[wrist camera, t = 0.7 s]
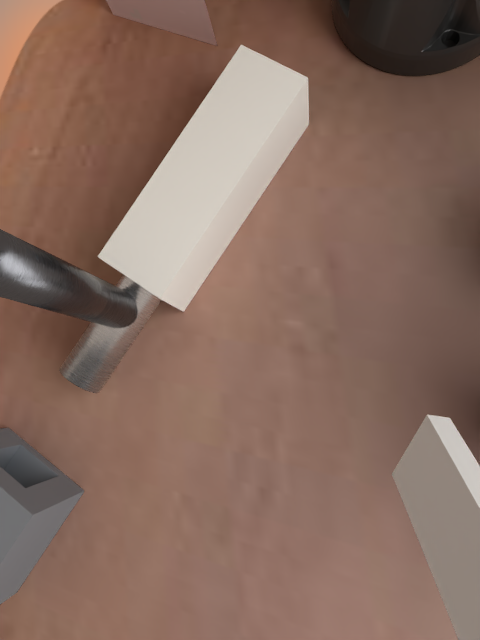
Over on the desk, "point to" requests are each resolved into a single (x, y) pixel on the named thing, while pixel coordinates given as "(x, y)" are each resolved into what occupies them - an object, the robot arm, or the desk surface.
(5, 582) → the socket block
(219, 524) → the desk surface
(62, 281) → the slide bolt
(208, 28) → the greeting card
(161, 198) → the elongated cream cuboid
